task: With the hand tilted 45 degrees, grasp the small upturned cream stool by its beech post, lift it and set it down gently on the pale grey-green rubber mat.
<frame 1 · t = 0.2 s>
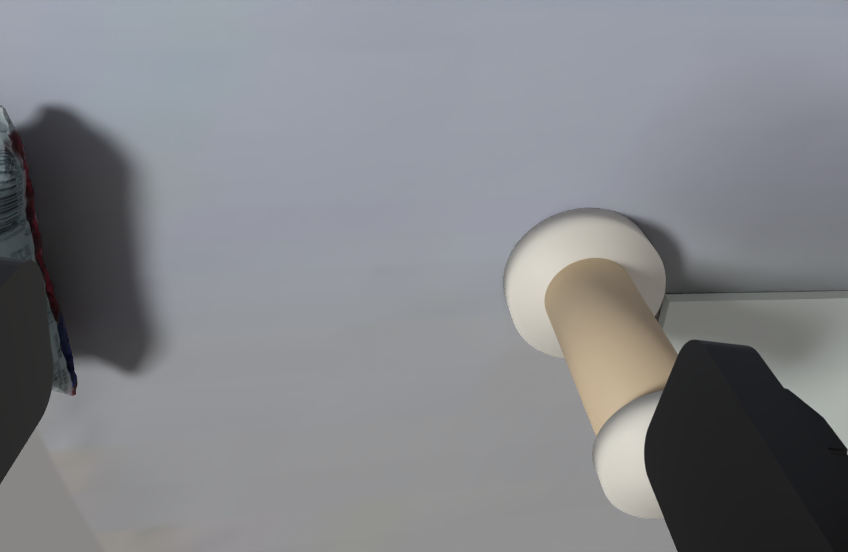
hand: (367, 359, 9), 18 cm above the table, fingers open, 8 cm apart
stool: (577, 275, 31), on the table
mat: (759, 396, 35), on the table
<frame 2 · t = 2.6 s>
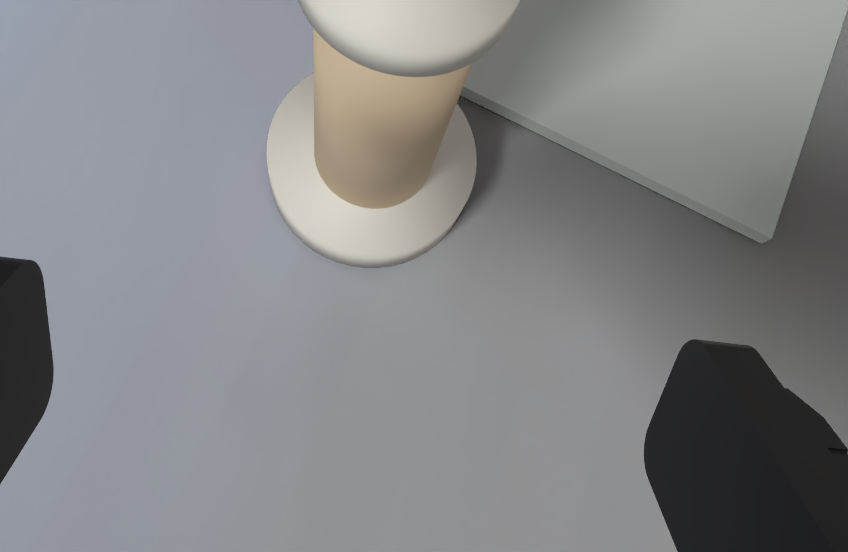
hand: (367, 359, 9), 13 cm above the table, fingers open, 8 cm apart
stool: (370, 173, 24), on the table
mat: (661, 32, 27), on the table
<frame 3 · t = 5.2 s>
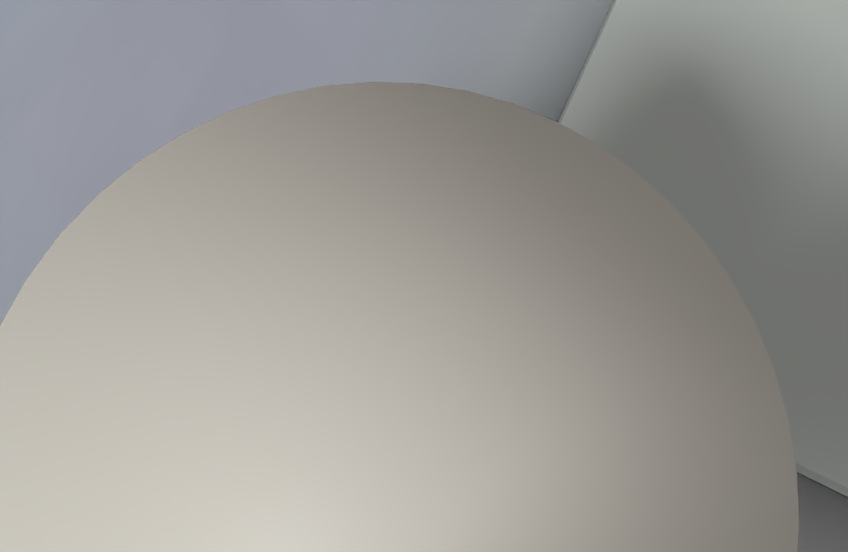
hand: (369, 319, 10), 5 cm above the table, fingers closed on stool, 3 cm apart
stool: (343, 466, 14), on the table, touching gripper
mat: (798, 201, 17), on the table
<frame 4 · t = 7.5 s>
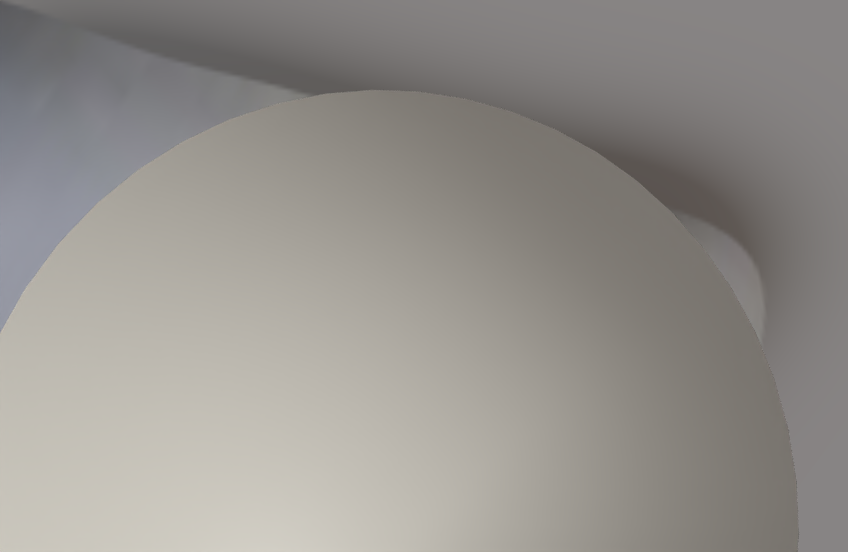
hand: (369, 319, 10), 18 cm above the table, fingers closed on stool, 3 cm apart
stool: (343, 469, 14), point 13 cm above the table, touching gripper
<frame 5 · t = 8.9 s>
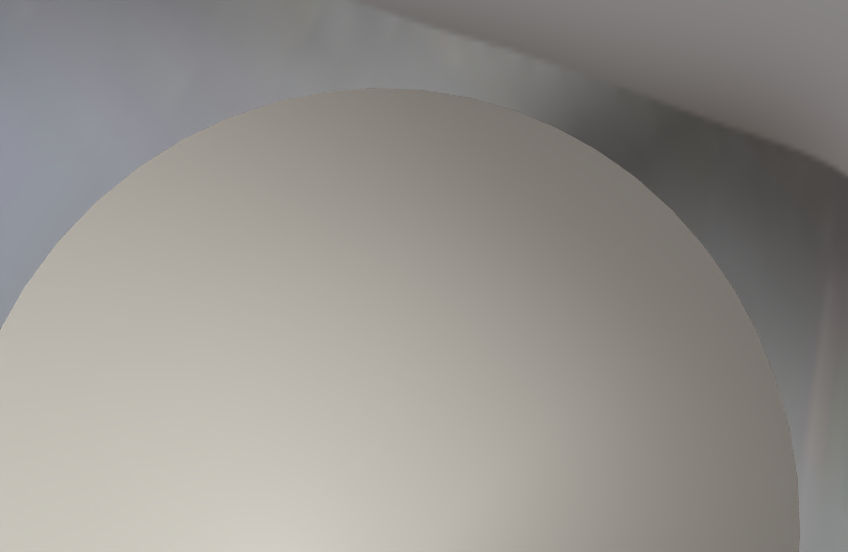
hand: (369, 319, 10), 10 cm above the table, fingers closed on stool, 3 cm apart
stool: (343, 468, 14), point 5 cm above the table, touching gripper
when the fingers open (7 cm above the table, at t = 9.9 s): stool drops 1 cm, resting on mat.
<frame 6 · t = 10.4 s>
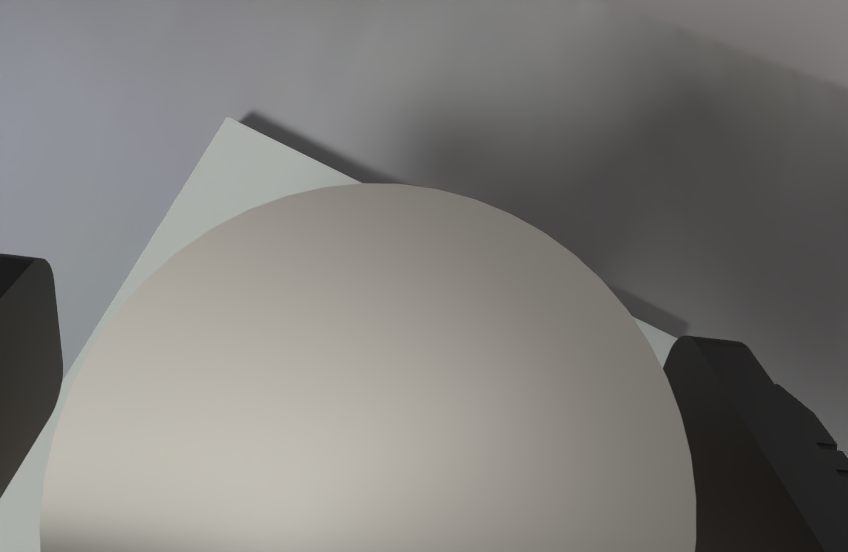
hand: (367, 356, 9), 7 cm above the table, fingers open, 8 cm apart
stool: (341, 473, 15), point 1 cm above the table, touching mat
mat: (340, 466, 16), on the table
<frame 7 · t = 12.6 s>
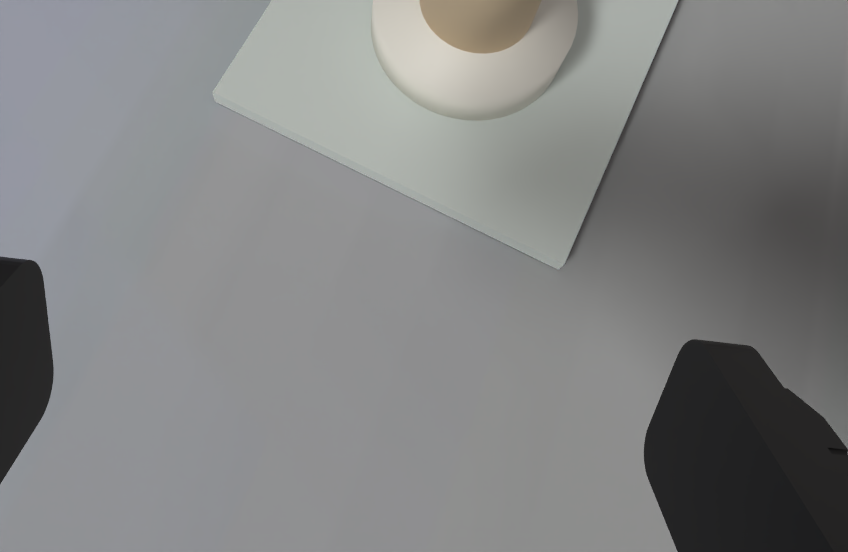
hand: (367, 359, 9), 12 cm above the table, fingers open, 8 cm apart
stool: (468, 32, 24), point 1 cm above the table, touching mat
mat: (464, 39, 25), on the table
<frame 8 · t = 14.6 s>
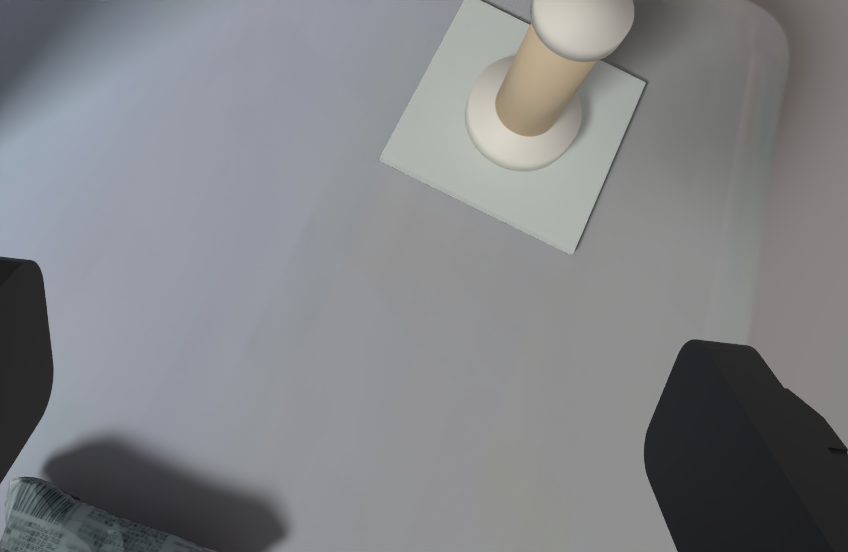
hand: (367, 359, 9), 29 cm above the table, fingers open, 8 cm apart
stool: (519, 119, 42), point 1 cm above the table, touching mat
mat: (516, 122, 43), on the table
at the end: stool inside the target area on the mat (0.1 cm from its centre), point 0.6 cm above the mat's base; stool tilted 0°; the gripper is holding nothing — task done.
